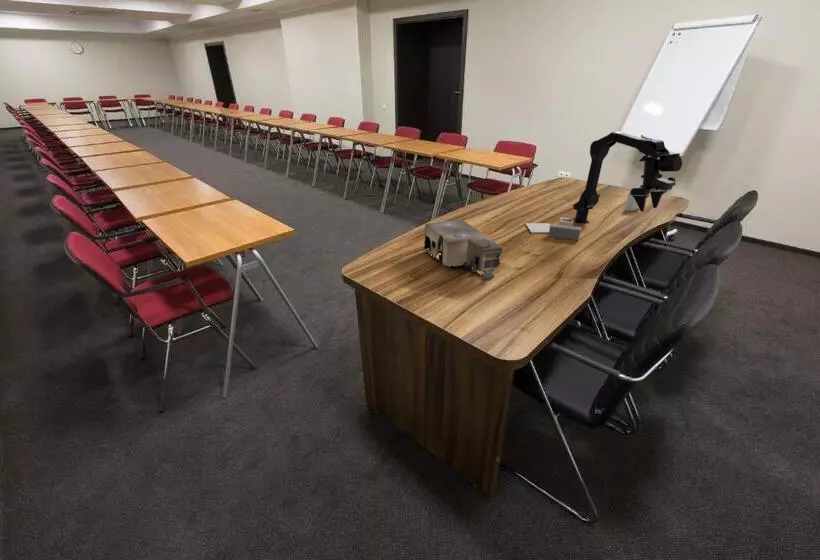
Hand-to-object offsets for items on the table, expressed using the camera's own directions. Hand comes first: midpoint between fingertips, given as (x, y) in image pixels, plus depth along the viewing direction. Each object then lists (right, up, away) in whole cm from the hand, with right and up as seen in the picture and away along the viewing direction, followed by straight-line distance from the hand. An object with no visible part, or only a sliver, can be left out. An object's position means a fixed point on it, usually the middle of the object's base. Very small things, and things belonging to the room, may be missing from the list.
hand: (648, 209), depth 163 cm
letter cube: (-28, -7, +19) cm, 35 cm away
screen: (-32, -11, +13) cm, 36 cm away
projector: (-82, -23, -8) cm, 85 cm away
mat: (-39, -5, +23) cm, 45 cm away
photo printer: (+21, +9, +49) cm, 54 cm away
